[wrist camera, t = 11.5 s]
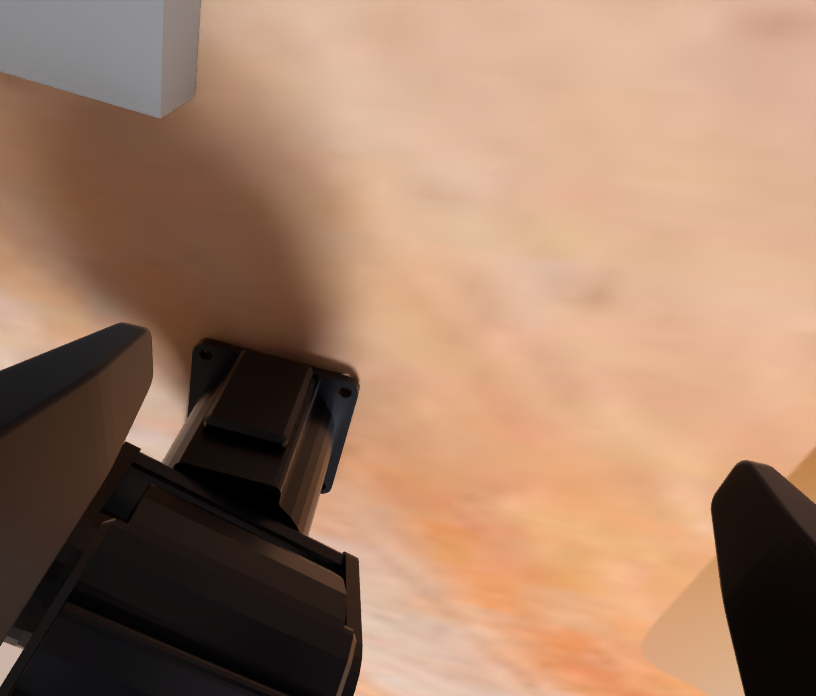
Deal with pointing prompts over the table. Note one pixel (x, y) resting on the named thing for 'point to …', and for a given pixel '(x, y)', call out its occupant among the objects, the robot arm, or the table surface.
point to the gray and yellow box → (105, 49)
